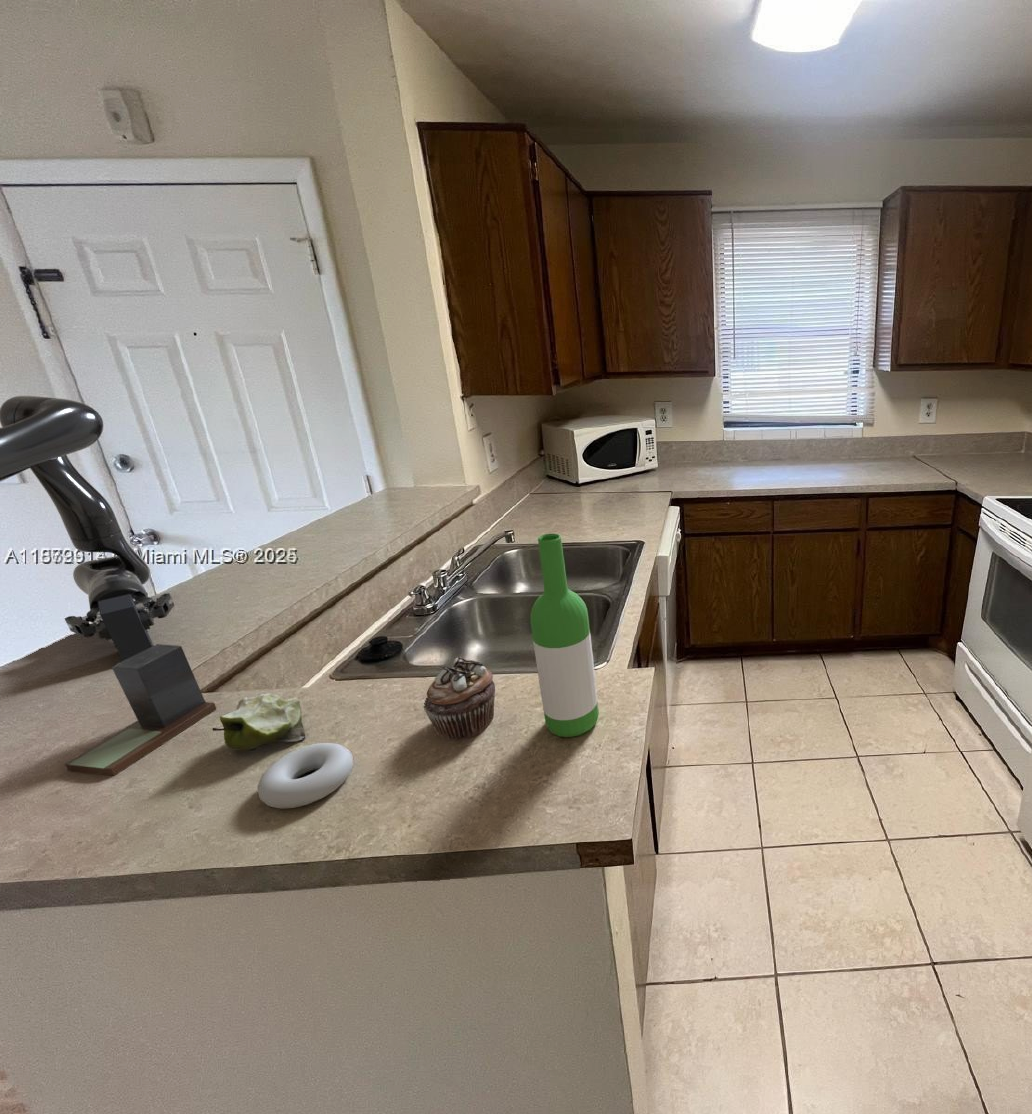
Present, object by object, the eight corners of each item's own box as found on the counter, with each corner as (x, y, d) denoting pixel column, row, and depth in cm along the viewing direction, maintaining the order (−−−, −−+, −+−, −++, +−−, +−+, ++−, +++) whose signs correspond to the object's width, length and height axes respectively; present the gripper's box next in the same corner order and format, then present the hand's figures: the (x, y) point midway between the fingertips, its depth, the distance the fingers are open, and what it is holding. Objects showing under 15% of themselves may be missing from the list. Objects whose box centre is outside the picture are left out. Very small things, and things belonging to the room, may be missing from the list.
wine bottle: (543, 743, 81) (513, 550, 69) (548, 710, 88) (522, 528, 76) (598, 736, 83) (578, 545, 71) (600, 704, 90) (581, 525, 78)
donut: (243, 802, 71) (297, 824, 68) (233, 781, 70) (289, 802, 66) (322, 750, 80) (374, 767, 76) (315, 730, 78) (367, 747, 75)
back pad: (121, 650, 102) (97, 601, 98) (152, 642, 105) (130, 593, 101) (124, 665, 98) (99, 614, 94) (156, 656, 100) (133, 606, 96)
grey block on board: (66, 771, 75) (26, 702, 71) (176, 705, 88) (148, 643, 84) (113, 776, 74) (75, 706, 70) (217, 709, 87) (190, 646, 83)
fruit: (245, 777, 76) (209, 733, 73) (235, 749, 82) (201, 707, 79) (321, 733, 82) (291, 691, 78) (306, 709, 88) (277, 669, 84)
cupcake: (458, 698, 90) (446, 645, 86) (513, 707, 89) (503, 652, 85) (414, 738, 82) (399, 680, 78) (474, 749, 80) (461, 690, 76)
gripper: (53, 593, 101) (54, 625, 91) (162, 569, 111) (174, 596, 101) (72, 629, 104) (75, 665, 94) (177, 603, 114) (190, 633, 103)
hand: (126, 629), depth 97 cm, fingers closed on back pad, 4 cm apart
